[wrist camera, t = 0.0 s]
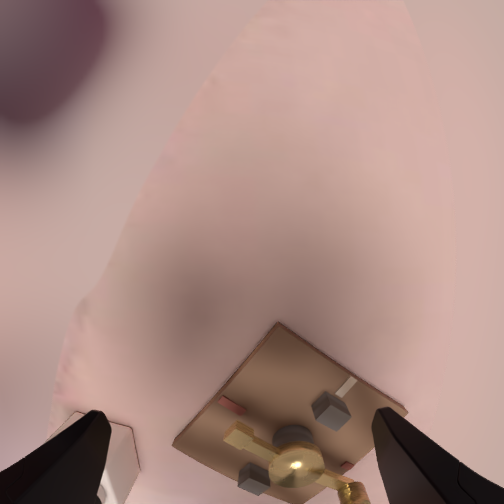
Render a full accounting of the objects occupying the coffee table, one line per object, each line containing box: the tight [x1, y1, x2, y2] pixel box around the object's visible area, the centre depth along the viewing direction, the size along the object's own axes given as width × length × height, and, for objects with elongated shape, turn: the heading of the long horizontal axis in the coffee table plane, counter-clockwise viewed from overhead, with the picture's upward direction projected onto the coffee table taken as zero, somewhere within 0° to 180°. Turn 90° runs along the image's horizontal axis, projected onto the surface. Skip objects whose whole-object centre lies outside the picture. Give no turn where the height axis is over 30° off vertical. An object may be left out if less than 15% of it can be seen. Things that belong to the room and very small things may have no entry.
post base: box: [172, 322, 408, 504], centre depth 22 cm, size 16×16×4 cm
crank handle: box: [223, 420, 371, 504], centre depth 17 cm, size 4×14×6 cm, turn 53°
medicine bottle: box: [45, 412, 140, 504], centre depth 19 cm, size 7×7×12 cm
